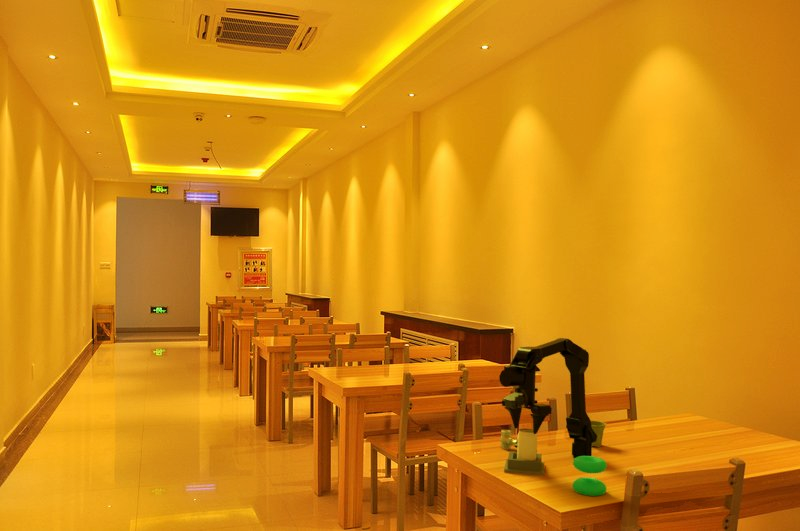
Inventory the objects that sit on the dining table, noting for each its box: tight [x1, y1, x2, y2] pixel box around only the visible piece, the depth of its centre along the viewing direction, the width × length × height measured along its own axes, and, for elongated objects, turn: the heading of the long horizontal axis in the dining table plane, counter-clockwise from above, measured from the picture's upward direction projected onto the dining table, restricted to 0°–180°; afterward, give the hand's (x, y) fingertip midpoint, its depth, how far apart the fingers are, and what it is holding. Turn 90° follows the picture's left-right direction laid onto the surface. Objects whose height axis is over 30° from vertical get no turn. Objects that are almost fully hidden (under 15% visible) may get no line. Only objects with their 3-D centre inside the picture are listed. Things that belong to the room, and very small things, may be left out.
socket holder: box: [503, 451, 545, 476], centre depth 234 cm, size 13×13×4 cm
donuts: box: [571, 455, 608, 497], centre depth 211 cm, size 10×10×10 cm
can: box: [516, 427, 538, 461], centre depth 234 cm, size 6×6×12 cm
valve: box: [499, 429, 518, 452], centre depth 259 cm, size 7×7×12 cm
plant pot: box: [591, 420, 607, 448], centre depth 270 cm, size 9×9×9 cm
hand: (525, 431), depth 234 cm, fingers open, 9 cm apart
